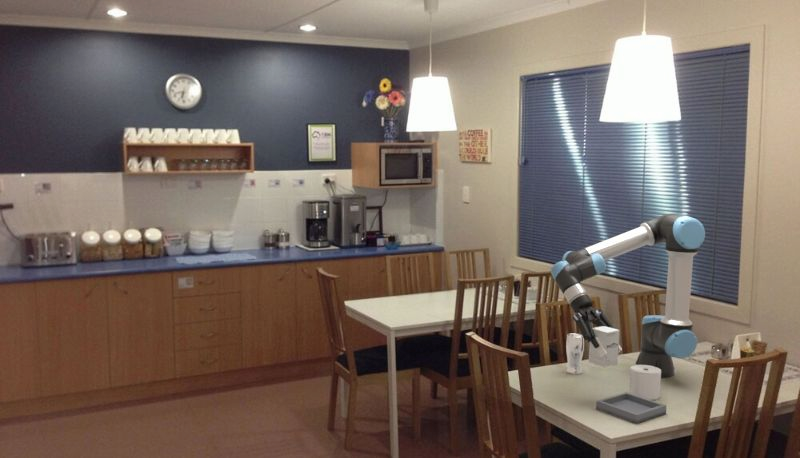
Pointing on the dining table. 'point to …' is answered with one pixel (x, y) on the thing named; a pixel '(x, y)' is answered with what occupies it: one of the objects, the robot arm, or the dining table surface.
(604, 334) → the supplement box
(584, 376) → the dining table surface
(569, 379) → the dining table surface
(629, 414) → the holder tray
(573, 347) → the beer glass
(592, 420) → the dining table surface
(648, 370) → the toilet tissue
